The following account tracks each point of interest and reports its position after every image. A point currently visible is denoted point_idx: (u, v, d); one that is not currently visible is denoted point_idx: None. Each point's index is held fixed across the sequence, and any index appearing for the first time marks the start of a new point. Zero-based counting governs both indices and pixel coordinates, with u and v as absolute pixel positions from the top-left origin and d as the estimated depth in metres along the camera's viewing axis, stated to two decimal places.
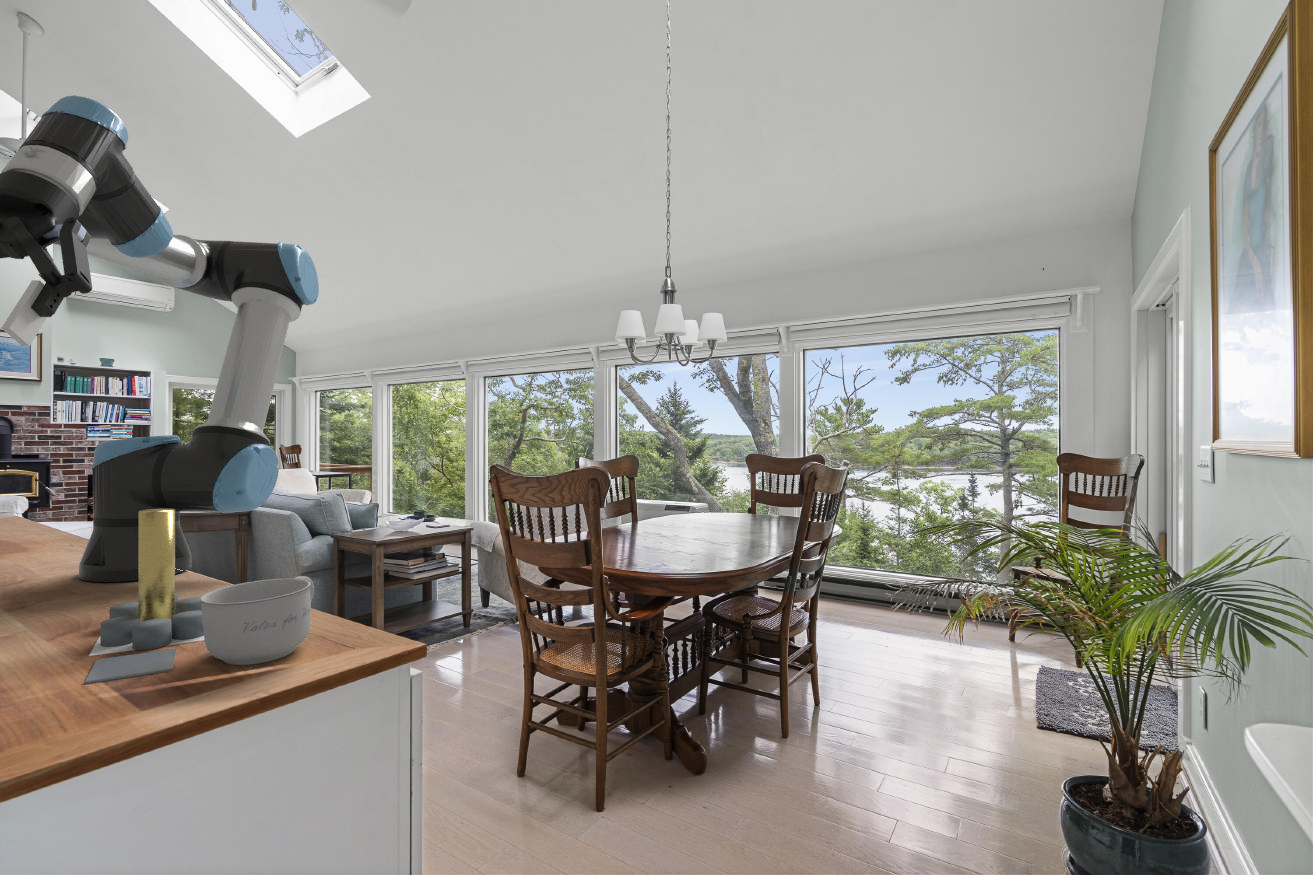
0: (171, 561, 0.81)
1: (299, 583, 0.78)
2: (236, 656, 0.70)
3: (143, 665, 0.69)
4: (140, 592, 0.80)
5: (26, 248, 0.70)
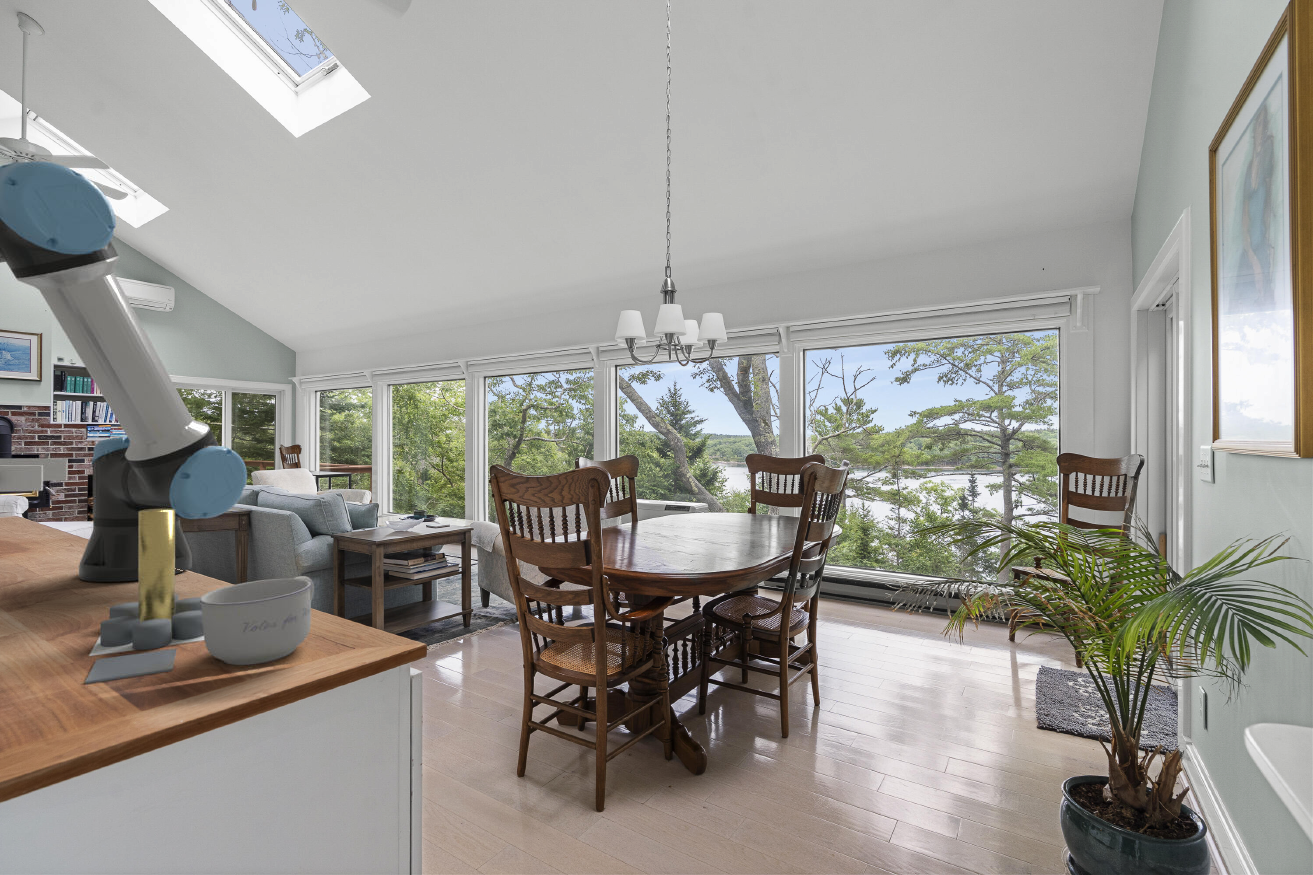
0: (171, 561, 0.81)
1: (299, 583, 0.78)
2: (236, 656, 0.70)
3: (143, 665, 0.69)
4: (140, 592, 0.80)
5: None
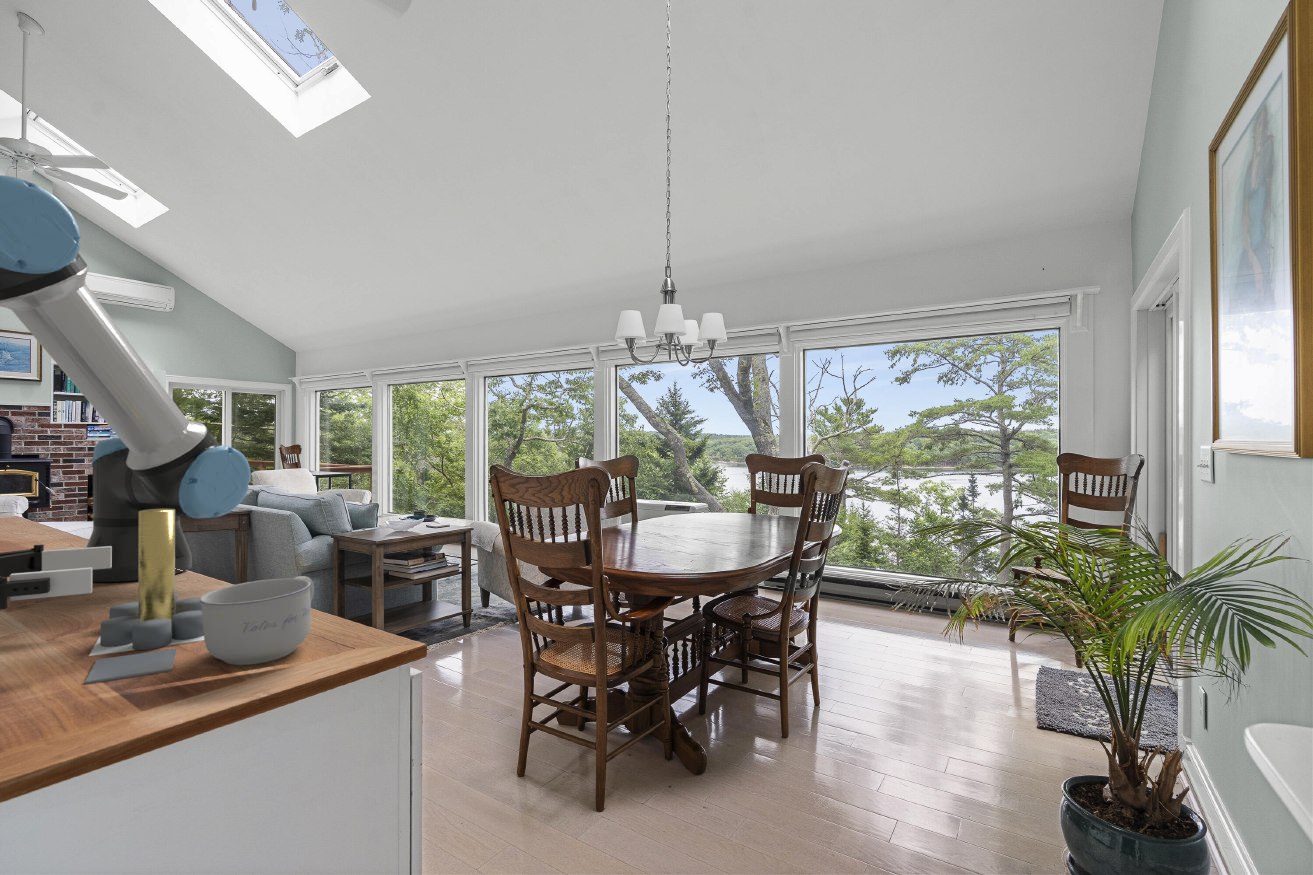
0: (171, 561, 0.81)
1: (299, 583, 0.78)
2: (236, 656, 0.70)
3: (143, 665, 0.69)
4: (140, 592, 0.80)
5: None
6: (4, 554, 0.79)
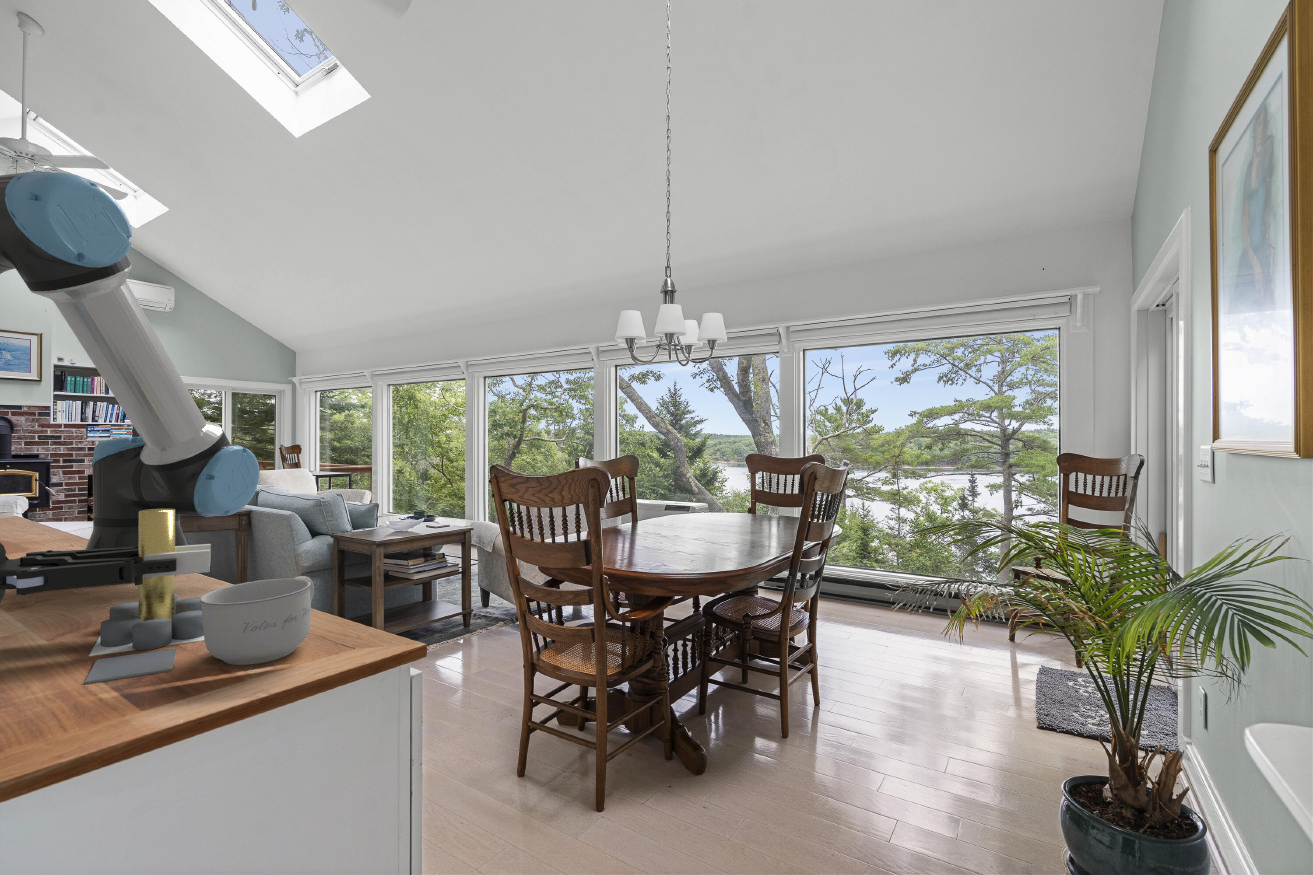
0: None
1: (299, 583, 0.78)
2: (236, 656, 0.70)
3: (143, 665, 0.69)
4: (140, 592, 0.80)
5: None
6: (108, 550, 0.82)
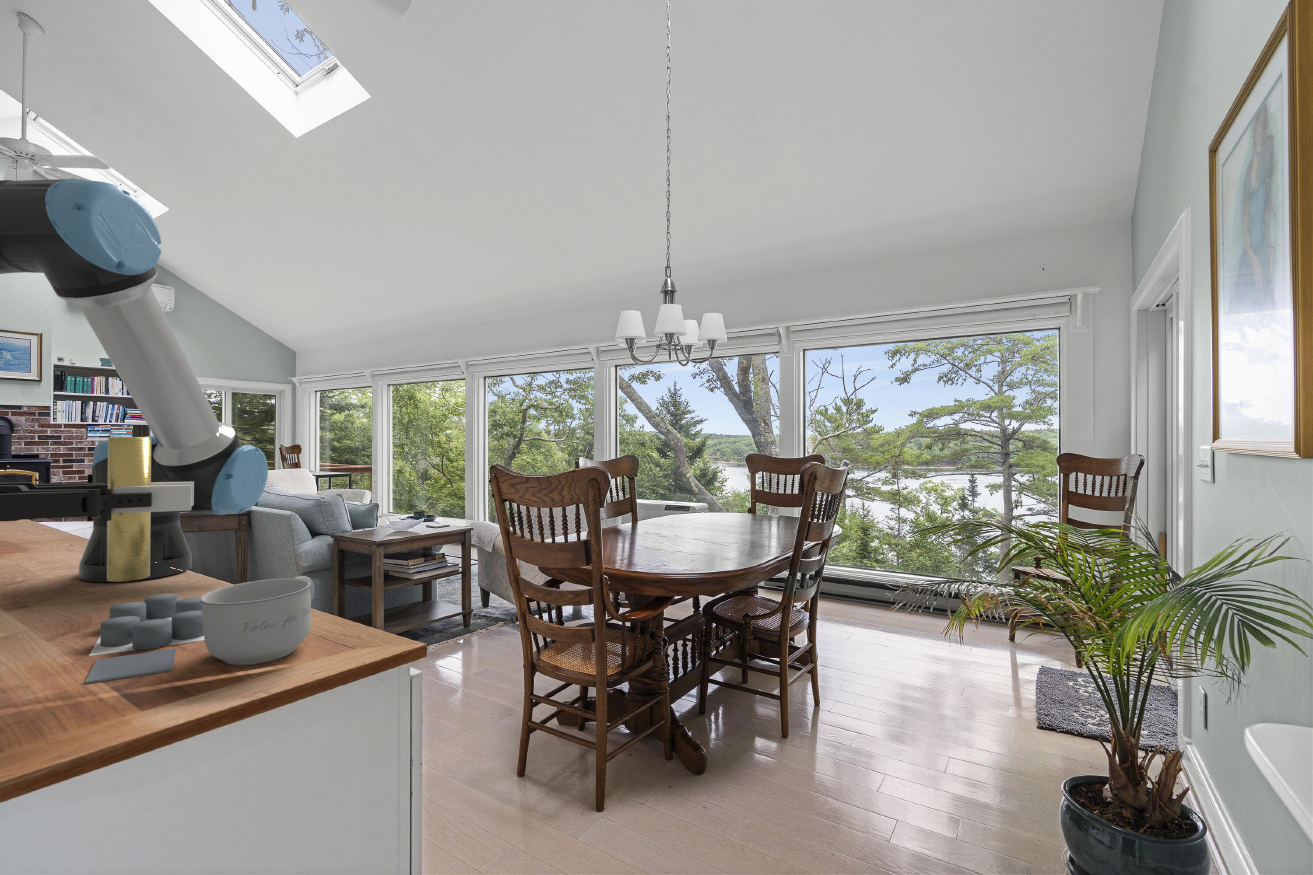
0: None
1: (299, 583, 0.78)
2: (236, 656, 0.70)
3: (143, 665, 0.69)
4: (109, 532, 0.68)
5: None
6: (74, 485, 0.71)
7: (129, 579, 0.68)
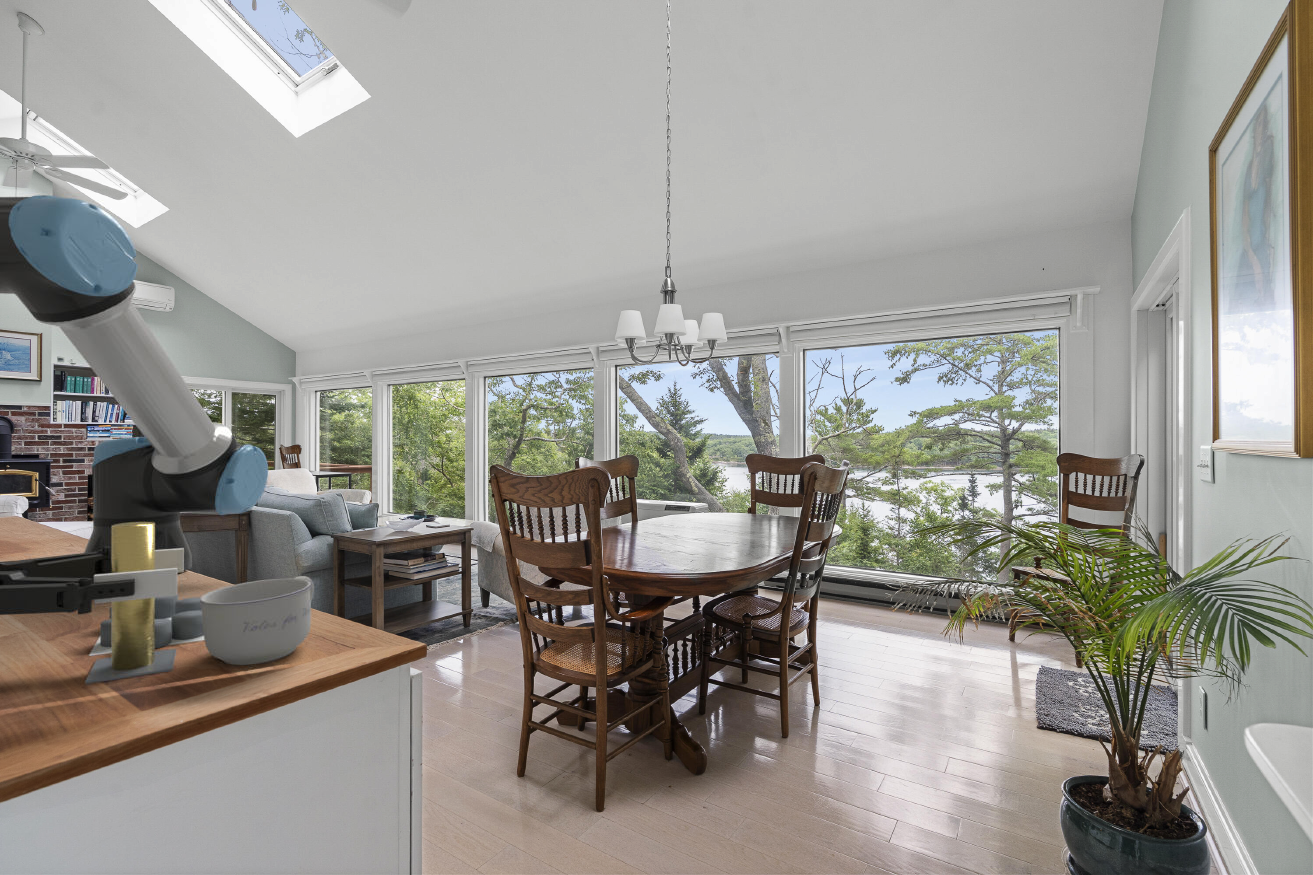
0: None
1: (299, 583, 0.79)
2: (236, 656, 0.70)
3: None
4: (113, 621, 0.68)
5: None
6: (69, 557, 0.72)
7: (134, 667, 0.69)
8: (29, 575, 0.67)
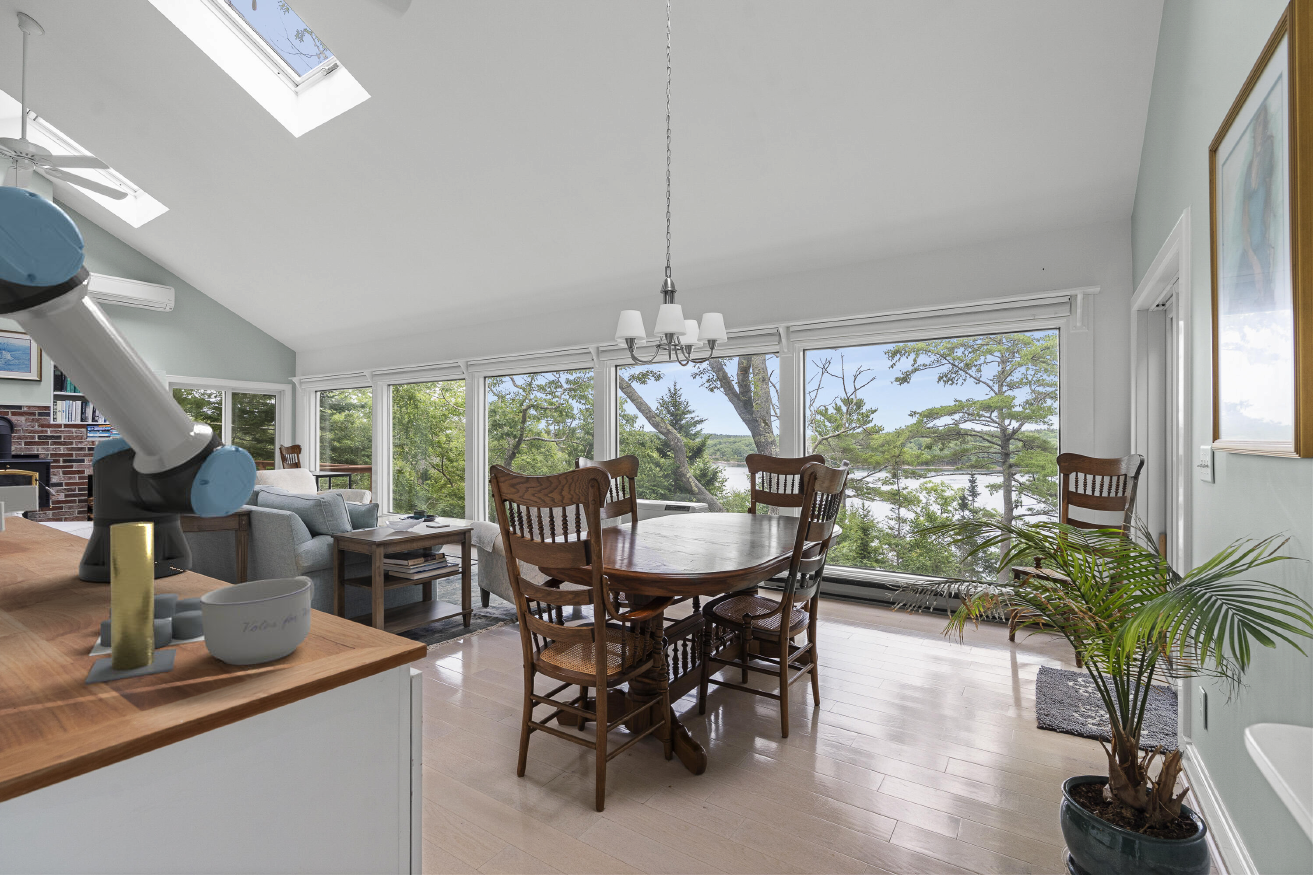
0: (149, 583, 0.70)
1: (299, 583, 0.78)
2: (236, 656, 0.70)
3: None
4: (113, 621, 0.68)
5: None
6: None
7: (134, 667, 0.69)
8: None
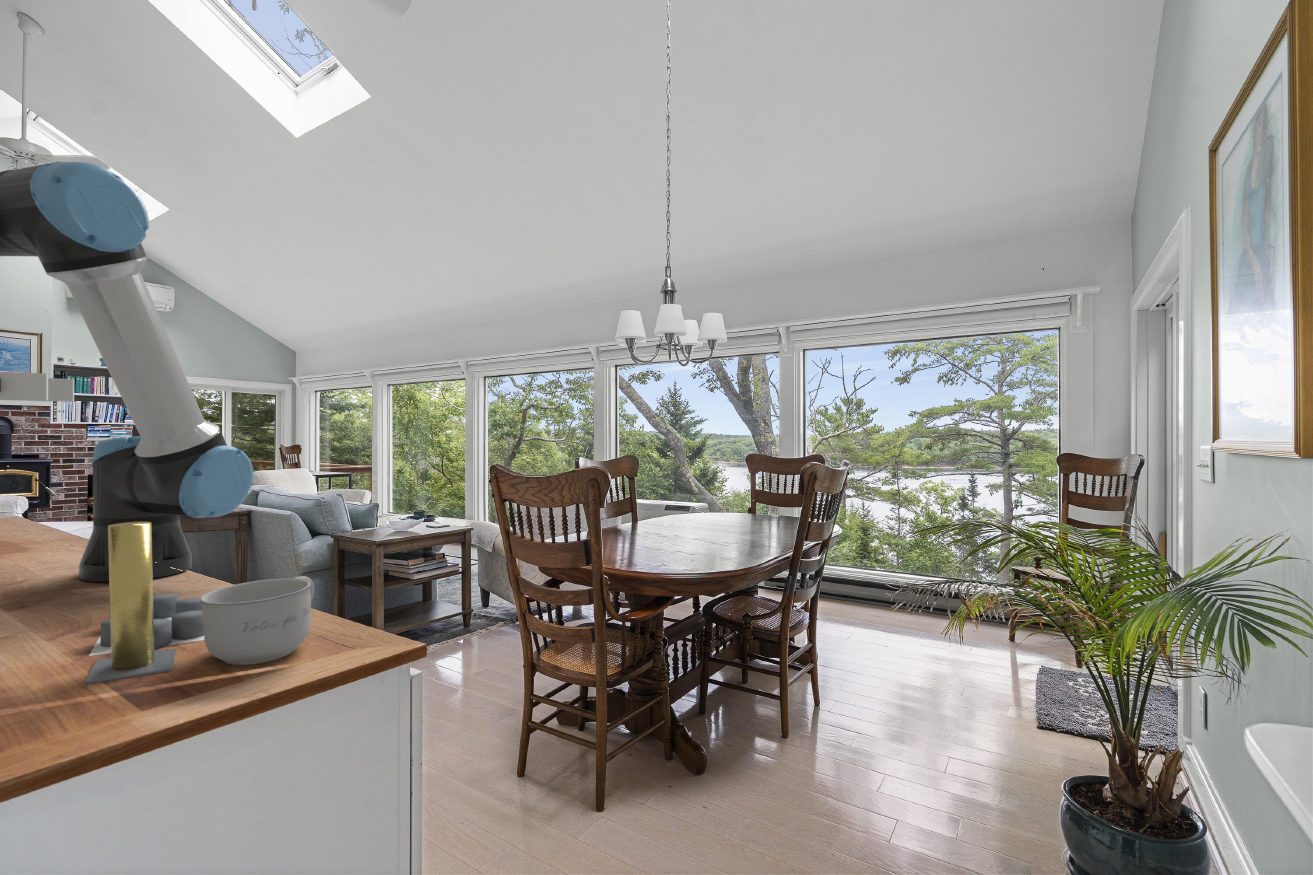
0: (148, 583, 0.70)
1: (299, 583, 0.79)
2: (236, 656, 0.70)
3: None
4: (112, 621, 0.68)
5: None
6: None
7: (134, 666, 0.69)
8: None
